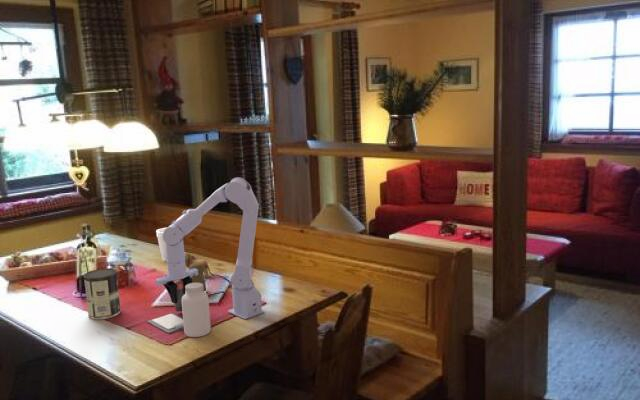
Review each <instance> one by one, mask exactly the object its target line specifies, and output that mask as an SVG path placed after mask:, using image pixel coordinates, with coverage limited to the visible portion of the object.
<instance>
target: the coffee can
mask: <svg viewBox="0 0 640 400" xmlns="http://www.w3.org/2000/svg"><path fill="white" fill-rule="evenodd" d="M83 279H84V280H83V281H84V287H85V297H86V305H87V312H88V313H87V314H88V315H87V317H88V318H89V319H91V320H98V321H99V320H107V319H112V318H114V317H116V316H118V315H119V314H120V313H121V311H122V310H121V309H122V308H121V304H120V302H121V301H120V295H119V293H120V292H119V284H118V283H119V282H118V270H116V269H114V268H107V267H106V268H99V269H94V270H89V271H88V272H86V273H84V274H83Z"/></svg>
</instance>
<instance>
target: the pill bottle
mask: <svg viewBox="0 0 640 400" xmlns="http://www.w3.org/2000/svg"><path fill="white" fill-rule="evenodd" d="M185 293H186V294H184V295H183V296H182V311H181V312H182V318H183V324H184V329H183V331H184V335H185V336H186V337H190V338H198V337H203V336H206V335H208V334H209V333H210V332H211V328H212V327H211V326H212V325H211V313H210V312H211V311H210V303H209V301H210V300H209V295H208V292H207V293H205V292H203V284H202V283H190V284H187V285H186V286H185Z"/></svg>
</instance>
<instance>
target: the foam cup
mask: <svg viewBox="0 0 640 400" xmlns="http://www.w3.org/2000/svg"><path fill="white" fill-rule="evenodd" d="M166 228H167V227H163V228H159V229H156V231H155V233H156V238H157V242H158V247H159V250H160V254H161V260H162V261H163V262H167V257H166V242H165V241H164V240H163V232H164V231H165V230H166Z"/></svg>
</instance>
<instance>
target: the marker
mask: <svg viewBox="0 0 640 400" xmlns="http://www.w3.org/2000/svg"><path fill="white" fill-rule="evenodd" d="M174 283H175V284H176V285H177V303H176V304H174V311H175V312H182V296H183V295H184V289H183V288H184V285H183V281H182V280H177V281H174Z"/></svg>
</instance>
